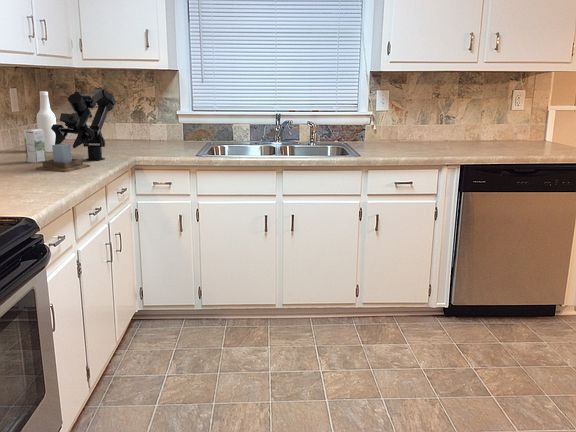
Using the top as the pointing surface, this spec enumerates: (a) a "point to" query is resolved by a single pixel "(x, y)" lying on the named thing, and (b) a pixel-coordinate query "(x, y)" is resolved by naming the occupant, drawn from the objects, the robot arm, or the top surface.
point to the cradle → (63, 165)
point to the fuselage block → (62, 153)
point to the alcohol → (46, 121)
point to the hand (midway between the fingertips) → (64, 147)
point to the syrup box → (34, 145)
